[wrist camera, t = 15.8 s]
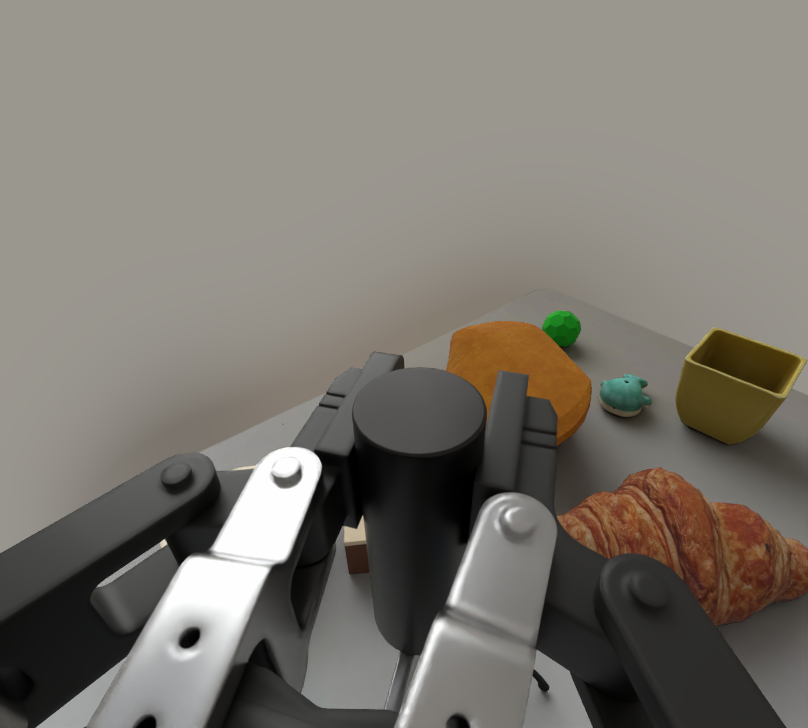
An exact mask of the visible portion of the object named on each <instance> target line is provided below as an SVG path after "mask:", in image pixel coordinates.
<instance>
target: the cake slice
mask: <svg viewBox="0 0 808 728" xmlns="http://www.w3.org/2000/svg"><path fill="white" fill-rule="evenodd" d="M344 545H345V551H346V557H347V563H348V569H349V574H357V573H366V572H370V571H369V563H368V554H367V545H366V536H365V528H364V519H363V516H362V518H361V521H360V523H359V525H358V528H357V529H354V528H350V527H346V526H344Z"/></svg>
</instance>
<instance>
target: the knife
mask: <svg viewBox="0 0 808 728" xmlns="http://www.w3.org/2000/svg"><path fill="white" fill-rule="evenodd" d="M486 421H487V408H486V404H485V401H484V399H483V397H482V395H481V394H480V393H479V391H478V390H477V389H476V388H475V387H474V386H473V385H472V384H471V383H469V382H468V381H467V380H465V379H463V378H462V377H460V376H458V375H455V374H453V373H450V372H447V371H443V370H439V369H433V368H420V367H418V368H405V369H400V370H395V371H392V372H388V373H386V374H383V375H381V376H379V377H377V378H375V379H374V380H372V381H370V382H369V383H368V384H367V385H365V386H364V387H363V388H362V390H361V391H360V392H359V393H358V395H357V397H356V399H355V401H354V403H353V407H352V422H353V431H354V440H355V449H356V457H357V466H358V475H359V484H360V492H361V501H362V510H363V519H364V528H365V536H366V545H367V554H368V563H369V571H370V580H371V589H372V598H373V606H374V615H375V620H376V624H377V626H378V629H379V631H380V632H381V634H382V636H383V637H384V638H385V640H386V641H387V642H388V643H389V644H390V645H392V646H393V647H394V648H396V649H398V650H400V653H399V656H398V660H397V664H396V667H395V671H394V674H393V678H392V682H391V685H390V689H389V693H388V696H387V700H386V703H385V707H384V710H391V711H394V712H397V713H400V710H401V707H402V705H403V702H404V699H405V697H406V694H407V691H408V688H409V686H410V683H411V680H412V678H413V675H414V672H415V670H416V667H417V664H418V661H419V659H420V656H421V653H422V651H423V648H424V645H425V642H426V640H427V637H428V634H429V632H430V629H431V626H432V624H433V622H434V619H435V617H436V615H437V613H438V611H439V610H440V609H441V608H444V606H445V604H446V602H447V600H448V597H449V594H450V591H451V589H452V586H453V583H454V580H455V578H456V575H457V572H458V569H459V566H460V564H461V561H462V558H463V555H464V552H465V550H466V547H467V544H468V538H469V528H470V517H471V507H472V497H473V487H474V480H475V476H476V471H477V467H478V465H479V463H480V461H481V459H482V455H483V448H484V439H485V430H486Z"/></svg>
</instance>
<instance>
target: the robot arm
mask: <svg viewBox="0 0 808 728" xmlns="http://www.w3.org/2000/svg"><path fill="white" fill-rule="evenodd" d="M400 369H404V358H403V356H402V355H395V354H388V353H382V352H375V351H374V352H373V353H372V354H371V355H370V357H369V359H368V360H367V362H366V364H365V365H364V367H363V369H356V368H350V369H349V370H347V371H345V372H344V373H343V374H341V375H340V376H339V377H337V378H336V379H335V380H334V382H333V383H332V384H331V386H330V387H329V389H328V391H327V392H326V395H324V397H323V398H322V400H321V401H320V403H319V406H317V407H316V409H315V410H314V412H313V413H312V415H311V416H310V418H309V419H308V421H307V422H306V424H305V425H304V427H303V428H302V430H301V431H300V433H299V434H298V436H297V437H296V439H295V440H294V442H293V443H292V445H291V446H290V447H289V448H283V449H280V450H277V451H274V452H272V453H270V454H269V455H267V456H266V457H264V458H263V459H262V460H261V461H260V462H259V463H258V464H257V466H256V467H255V468H254V469H245V470H230V471H216V470H215V467H214V465H213V462H212V461H211V459H210V458H208V457H207V456H205V455H203V454H199V453H183V454H178V455H175V456H172V457H170V458H167V459H165V460H163V461H161V462H160V463H158V464H156V465H155V466H153V467H151V468H149V469H148V470H146V471H144V472H142V473H141V474H139V475H137V476H135V477H133V478H132V479H130V480H128V481H126V482H125V483H123V484H121V485H120V486H118V487H116V488H114V489H112V490H111V491H109V492H107V493H105V494H104V495H102V496H100V497H98V498H97V499H95V500H93V501H92V502H90V503H88V504H86V505H84V506H83V507H81V508H79V509H77V510H76V511H74V512H72V513H70V514H69V515H67V516H65V517H64V518H62V519H60V520H58V521H56V522H55V523H53V524H51V525H49V526H48V527H46V528H44V529H42V530H41V531H39V532H37V533H35V534H34V535H32V536H30V537H28V538H27V539H25V540H23V541H21V542H20V543H18V544H16V545H14V546H13V547H11V548H9V549H7V550H6V551H4V552H2V553H0V728H36V727H37V726H38V725H39V724H41V723H42V722H43V721H45V720H46V719H47V718H48V717H50V716H51V715H52V714H53V713H55V712H56V711H57V710H59V709H60V708H61V707H62V706H64V705H65V704H66V703H68V702H69V701H70V700H71V699H73V698H74V697H75V696H76V695H78V694H79V693H80V692H82V691H83V690H84V689H85V688H87V687H88V686H89V685H91V684H92V683H93V682H94V681H96V680H97V679H98V678H99V677H101V676H102V675H103V674H105V673H106V672H107V671H108V670H110V669H111V668H112V667H114V666H115V665H116V664H117V663H119V662H120V661H121V660H123V659H124V658H125V657H126V656H127V658H126V659H125V661H124V663H123V665H122V666H121V668H120V670H119V671H118V673H117V675H116V677H115V678H114V680H113V682H112V683H111V685H110V687H109V689H108V690H107V692H106V694H105V695H104V697H103V699H102V701H101V702H100V704H99V706H98V707H97V709H96V711H95V713H94V714H93V716H92V718H91V719H90V721H89V723H88V725H87V726H86V727H84V728H522V727H523V722H524V717H525V712H526V706H527V701H528V696H529V691H530V685H531V680H532V675H533V669H534V664H535V657H536V650H539V651H540V652H542V653H543V654H545V655H546V656H548V657H549V658H551V659H552V660H554V661H555V662H557V663H558V664H560V665H561V666H563V667H564V668H566V669H567V670H569V671H570V673H571V676H572V679H573V681H574V684H575V686H576V688H577V691H578V693H579V695H580V698H581V700H582V703H583V705H584V707H585V710H586V712H587V714H588V717H589V719H590V721H591V724H592V726H593V728H786V726H785V725H784V724H783V722H782V721H781V719H780V718H779V716H778V715H777V714H776V712H775V711H774V709H773V708H772V706H771V705H770V704H769V702H768V701H767V699H766V698H765V696H764V695H763V693H762V692H761V691H760V689H759V688H758V686H757V685H756V683H755V682H754V681H753V679H752V678H751V676H750V675H749V673H748V672H747V671H746V669H745V668H744V666H743V665H742V663H741V662H740V661H739V659H738V658H737V656H736V655H735V653H734V652H733V650H732V649H731V648H730V646H729V645H728V643H727V642H726V640H725V639H724V638H723V636H722V635H721V633H720V632H719V630H718V629H717V628H716V626H715V625H714V623H713V622H712V620H711V619H710V618H709V616H708V615H707V613H706V612H705V610H704V609H703V607H702V606H701V605H700V603H699V602H698V600H697V599H696V597H695V596H694V595H693V593H692V592H691V590H690V589H689V587H688V586H687V585H686V583H685V582H684V581H683V580H682V578H681V577H680V576H679V575H678V574H677V573H676V572H674V571H673V570H672V569H671V568H669V567H668V566H667V565H665V564H663V563H662V562H660V561H658V560H656V559H654V558H651V557H648V556H646V555H641V554H635V553H626V554H620V555H617V556H615V557H613V558H611V559H608V558H606V557H604V556H603V555H601V554H599V553H597V552H595V551H593V550H591V549H589V548H587V547H586V546H584V545H582V544H581V543H579V542H578V541H576V540H575V539H574V538H572V537H571V536H570V535H569V534H568V533H567V532H566V531H565V529H564V528H563V527H562V525H561V524H560V522H559V520H558V518H557V516H556V513H555V509H554V491H555V468H556V445H557V422H558V415H557V413H556V412H555V410H554V408H553V406H552V404H551V402H550V400H549V399H543V398H537V397H531V396H527V388H528V380H529V375H528V374H521V373H515V372H508V371H501V370H499V371H498V375H497V379H496V384H495V388H494V393H493V398H492V402H491V407H490V411H489V416H488V420H487V425H486V430H485V439H484V448H483V455H482V459H481V461H480V463H479V465H478V467H477V471H476V476H475V480H474V487H473V497H472V507H471V517H470V528H469V538H468V544H467V547H466V550H465V552H464V555H463V558H462V561H461V564H460V566H459V569H458V572H457V575H456V578H455V580H454V583H453V586H452V589H451V591H450V594H449V597H448V600H447V602H446V604H445V606H444V608H441V609H440V610H439V611H438V613H437V615H436V617H435V619H434V622H433V624H432V626H431V629H430V632H429V634H428V637H427V640H426V642H425V645H424V648H423V651H422V653H421V656H420V659H419V661H418V664H417V667H416V670H415V672H414V675H413V678H412V680H411V683H410V686H409V688H408V691H407V694H406V697H405V699H404V702H403V705H402V707H401V710H400V713H397V712H394V711H391V710H374V709H326V708H321V707H318V706H316V705H315V704H313V703H312V702H311V701H310V700H308V699H307V698H306V697H304V696H303V695H302V694H301V692H302V688H303V685H304V681H305V676H306V670H307V663H308V647H309V641H310V636H311V632H312V629H313V626H314V622H315V619H316V616H317V613H318V609H319V606H320V603H321V599H322V596H323V593H324V590H325V586H326V583H327V580H328V577H329V573H330V570H331V567H332V563H333V560H334V557H335V553H336V544H335V541H336V539H337V537H338V535H339V532H340V530H341V528H342V526H346V527H350V528H354V529H357V528H358V525H359V523H360V521H361V518H362V516H363V510H362V501H361V492H360V484H359V475H358V466H357V457H356V449H355V440H354V431H353V422H352V407H353V403H354V401H355V399H356V397H357V395H358V393H359V392H360V391H361V390H362V388H363V387H364V386H365V385H367V384H368V383H369V382H370V381H372V380H374V379H375V378H377V377H379V376H381V375H383V374H386V373H388V372H392V371H395V370H400ZM164 539H165V541H166V543H167V545H165V546H164V547H163V548H161V549H160V550H158V551H157V552H155V553H154V554H152V555H151V556H149V557H148V558H146V559H145V560H143V561H142V562H140V563H139V564H138V565H136V566H135V567H133V568H132V569H130V570H129V571H127V572H126V573H124V574H123V575H121V576H120V577H118V578H117V579H115V580H114V581H113V582H111V583H109V584H107V585H105V586H102V587H97V586H98V584H100V583H101V582H102V581H103V580H104V579H106V578H107V577H109V576H110V575H112V574H113V573H115V572H116V571H118V570H119V569H121V568H122V567H124V566H125V565H127V564H128V563H130V562H131V561H133V560H134V559H136V558H137V557H139V556H140V555H142V554H143V553H145V552H146V551H148V550H149V549H151V548H152V547H154V546H155V545H157V544H158V543H160V542H161V541H162V540H164ZM96 587H97V588H96Z"/></svg>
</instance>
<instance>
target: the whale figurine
mask: <svg viewBox="0 0 808 728" xmlns="http://www.w3.org/2000/svg"><path fill="white" fill-rule="evenodd" d="M647 385H648V383H647V381H645V380H644V379H642V378H639V377H636V376H634V375H631V374H625V375H624V377H623V378H617V379H612V380H610V381H606V380H605V381H603V382H601V390H600V394H599V402H600V404H601V405H602V407H603V408H604V409H606V410H607V411H609V412H611V413H613V414H616V415H618V416H623V417H631V416H635V415H637V414H638V413H639V412H640V411H641V409H642V407H647V406H650V405H651V404H652V401H651V399H650V398H649V397H646V396H644V395H643V392H642V389H643V388H645V387H646V386H647Z"/></svg>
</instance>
